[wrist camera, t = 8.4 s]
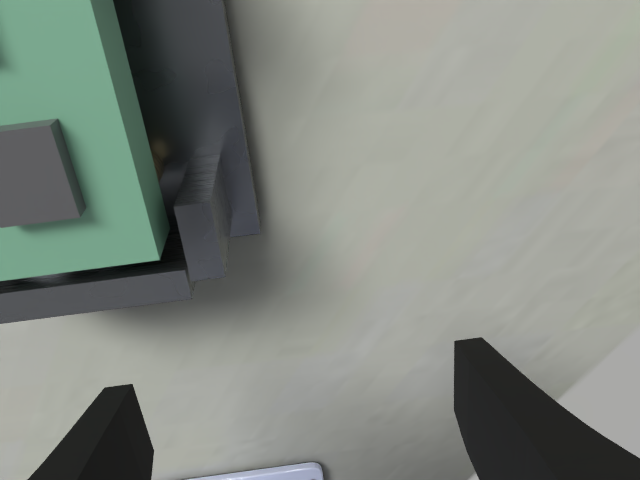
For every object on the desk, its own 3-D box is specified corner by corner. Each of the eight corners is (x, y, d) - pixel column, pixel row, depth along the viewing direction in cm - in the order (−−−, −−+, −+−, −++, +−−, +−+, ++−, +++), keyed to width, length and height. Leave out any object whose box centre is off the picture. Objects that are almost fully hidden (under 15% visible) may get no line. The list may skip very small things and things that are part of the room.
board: (85, -112, 14) (48, -122, 12) (169, 228, 18) (156, 271, 16) (-130, -87, 14) (-210, -92, 11) (6, 249, 18) (-33, 295, 16)
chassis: (194, -180, 16) (168, -224, 12) (260, 221, 22) (259, 293, 18) (-172, -140, 16) (-339, -170, 12) (-9, 255, 22) (-79, 337, 17)
